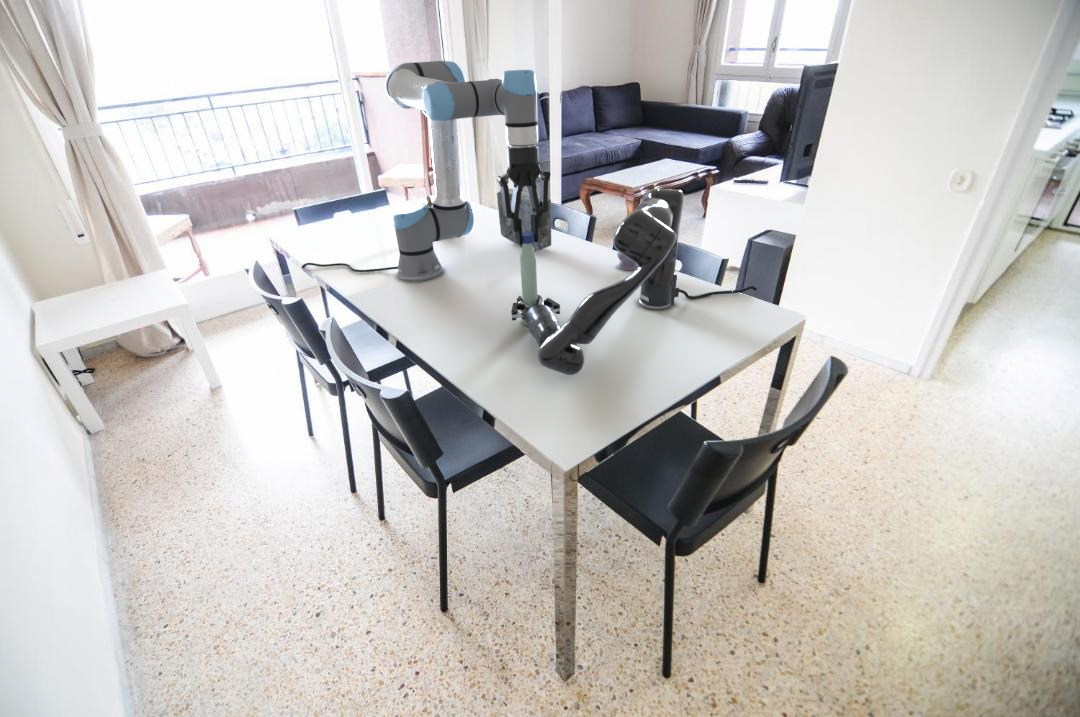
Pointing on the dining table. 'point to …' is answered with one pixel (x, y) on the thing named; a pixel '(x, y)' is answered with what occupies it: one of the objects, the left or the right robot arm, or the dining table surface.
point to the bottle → (528, 275)
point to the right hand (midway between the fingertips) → (527, 298)
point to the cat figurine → (626, 262)
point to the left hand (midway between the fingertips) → (527, 241)
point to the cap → (528, 237)
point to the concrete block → (526, 221)
